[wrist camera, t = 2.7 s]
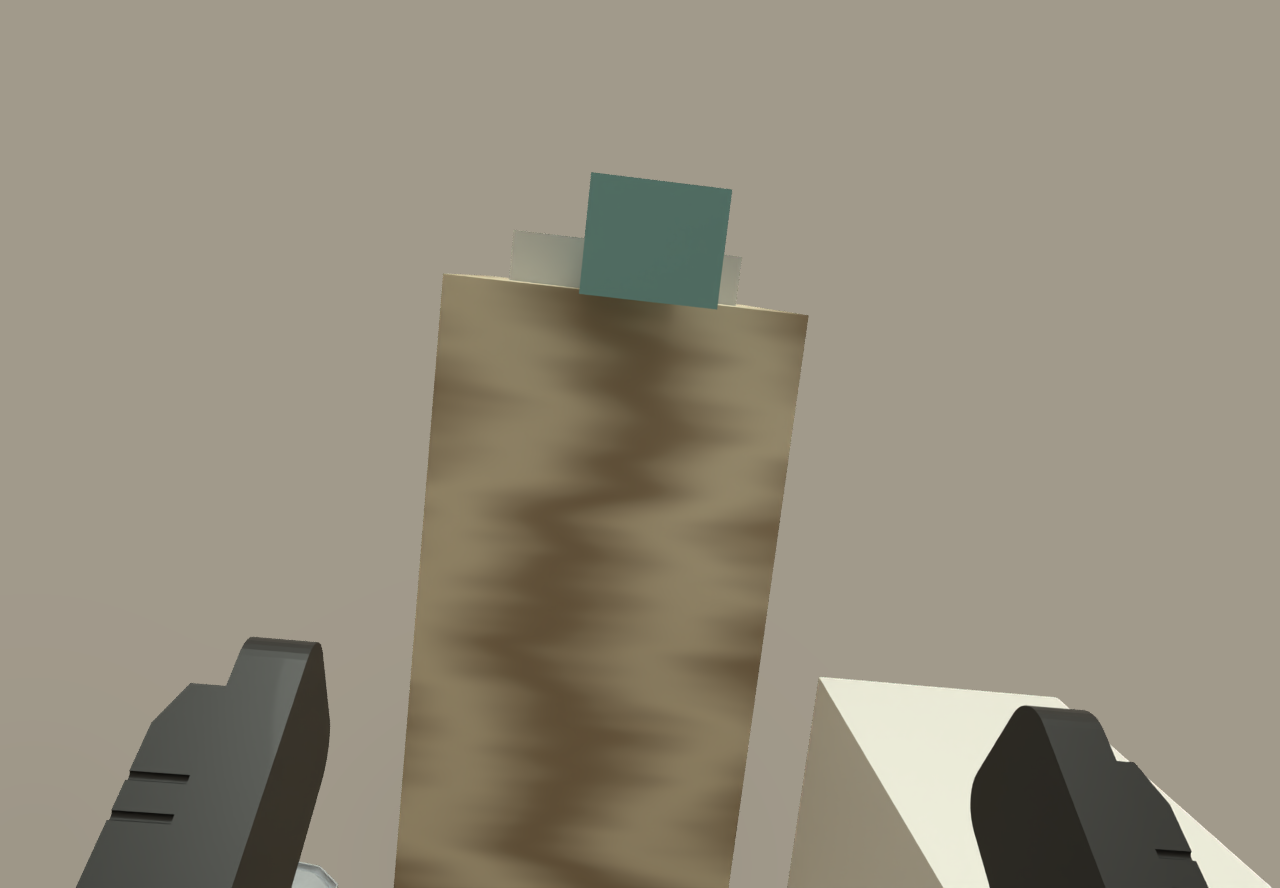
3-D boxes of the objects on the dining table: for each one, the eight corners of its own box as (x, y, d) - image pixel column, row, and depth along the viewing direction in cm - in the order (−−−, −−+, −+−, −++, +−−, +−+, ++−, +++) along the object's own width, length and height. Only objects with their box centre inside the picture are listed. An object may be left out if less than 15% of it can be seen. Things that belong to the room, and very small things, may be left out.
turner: (704, 300, 38) (711, 243, 38) (831, 322, 19) (849, 204, 18) (524, 280, 38) (530, 222, 37) (459, 280, 18) (469, 157, 18)
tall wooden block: (648, 1021, 44) (740, 304, 39) (671, 1295, 32) (808, 315, 27) (423, 1008, 43) (487, 275, 38) (361, 1283, 31) (443, 273, 26)
